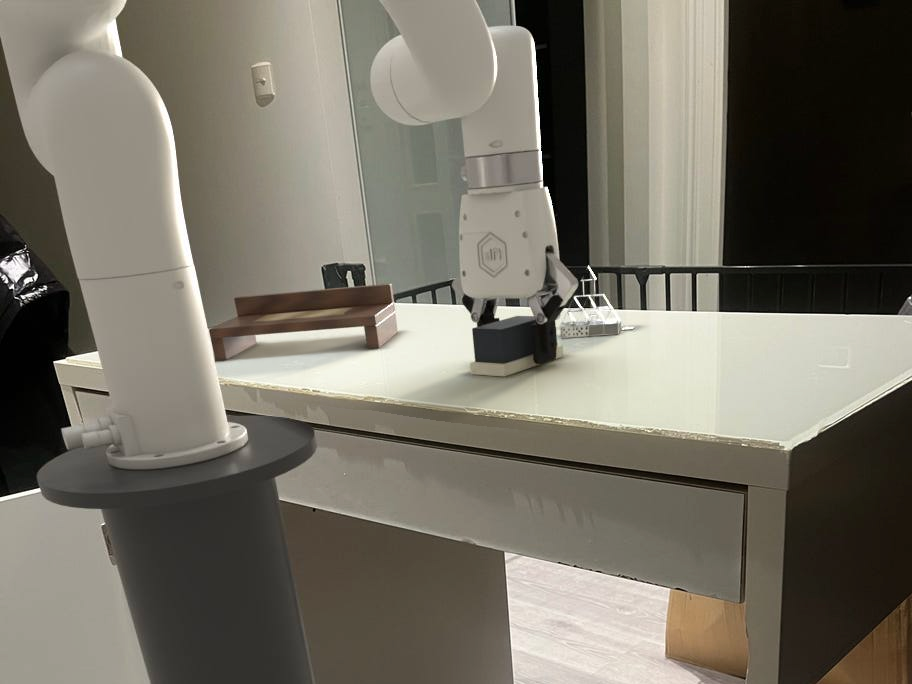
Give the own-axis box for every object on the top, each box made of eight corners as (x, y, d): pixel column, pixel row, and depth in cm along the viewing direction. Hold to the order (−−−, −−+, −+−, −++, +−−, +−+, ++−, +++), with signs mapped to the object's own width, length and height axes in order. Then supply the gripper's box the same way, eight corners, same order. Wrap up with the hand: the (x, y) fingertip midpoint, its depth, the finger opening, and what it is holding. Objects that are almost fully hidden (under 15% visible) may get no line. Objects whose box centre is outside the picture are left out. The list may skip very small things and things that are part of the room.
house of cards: (636, 321, 121) (635, 256, 117) (634, 333, 113) (632, 264, 110) (565, 326, 123) (562, 262, 119) (558, 338, 115) (554, 271, 112)
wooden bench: (215, 360, 124) (204, 309, 121) (246, 344, 135) (236, 296, 132) (379, 348, 121) (372, 295, 118) (397, 332, 132) (391, 283, 129)
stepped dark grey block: (504, 376, 98) (501, 330, 96) (470, 374, 101) (466, 329, 99) (563, 356, 105) (561, 312, 103) (530, 354, 107) (527, 312, 105)
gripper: (415, 184, 97) (435, 363, 105) (552, 171, 87) (563, 371, 95) (463, 178, 102) (478, 350, 110) (598, 165, 92) (605, 356, 100)
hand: (517, 358), depth 102 cm, fingers open, 6 cm apart
